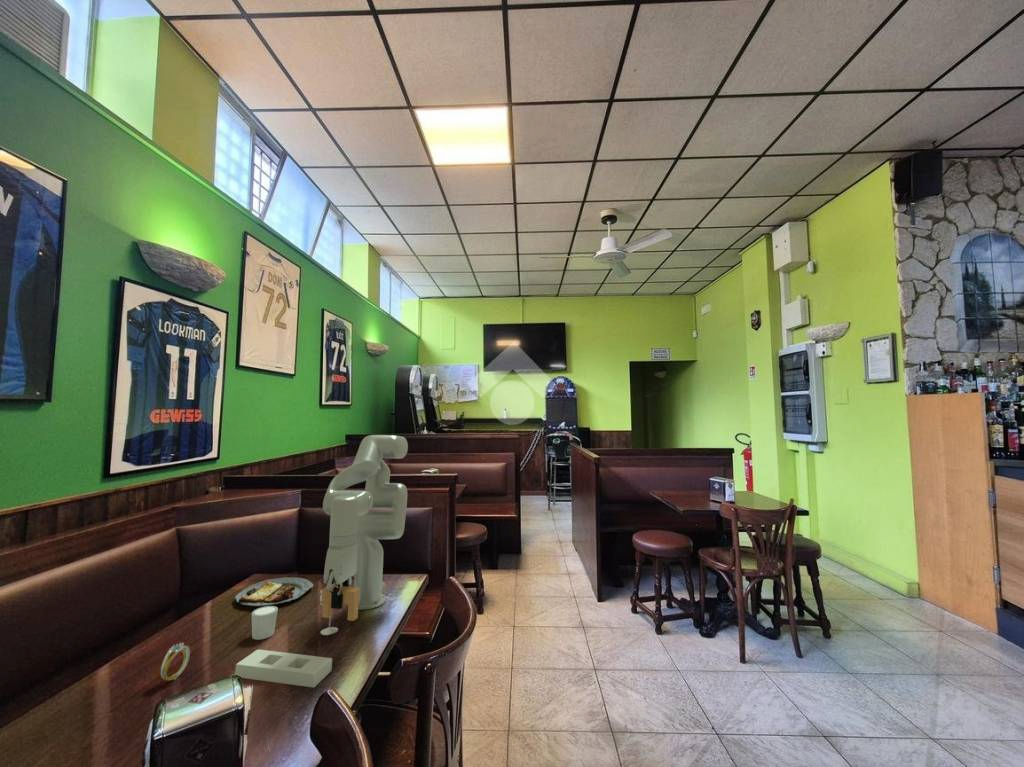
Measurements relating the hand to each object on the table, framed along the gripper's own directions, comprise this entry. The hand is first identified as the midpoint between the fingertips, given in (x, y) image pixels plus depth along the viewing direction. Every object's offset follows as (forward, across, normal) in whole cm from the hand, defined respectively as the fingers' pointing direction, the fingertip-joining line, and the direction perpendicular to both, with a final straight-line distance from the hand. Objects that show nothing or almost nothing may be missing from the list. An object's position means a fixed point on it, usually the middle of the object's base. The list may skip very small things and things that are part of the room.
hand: (340, 604), depth 116 cm
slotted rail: (+12, +13, -7) cm, 19 cm away
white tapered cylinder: (+13, -3, -27) cm, 30 cm away
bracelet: (+12, +20, -32) cm, 39 cm away
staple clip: (+3, 0, 0) cm, 3 cm away
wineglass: (+13, -9, -9) cm, 18 cm away
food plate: (+14, -28, -44) cm, 54 cm away
